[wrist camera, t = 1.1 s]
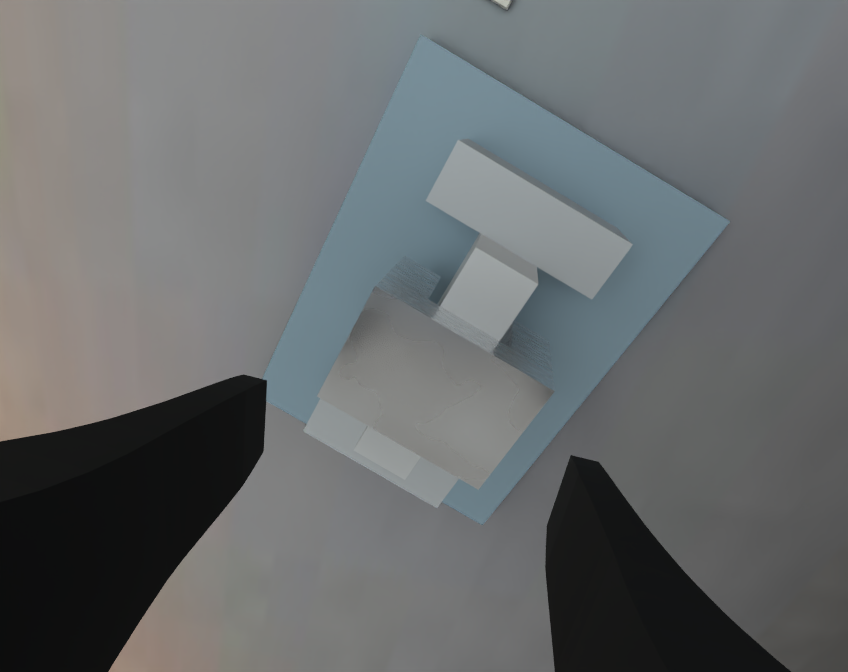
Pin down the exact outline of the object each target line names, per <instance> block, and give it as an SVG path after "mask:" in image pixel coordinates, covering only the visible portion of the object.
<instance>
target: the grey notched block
mask: <svg viewBox="0 0 848 672" xmlns="http://www.w3.org/2000/svg"><path fill="white" fill-rule="evenodd" d="M440 278H441V277H440V276H439V275H437V274H435V273H434V272H432V271H430V270H429V269H427V268H425V267H424V266H422V265H420V264H418V263H417V262H415V261H413V260H412V259H410V258H408V257H407V256H404V257H403V258H402V259H401V260H400V261H399V262H398V263H397V264H396V265H395V266H394V267H393V268H392V269H391V270H390V271H389V272H388V273H387V274H386V275H385V276H384V277H383V278H382V279H381V280H380V281H379V282H378V283H377V284H376V285H375V287H374V289H373V291H372V293H371V295H370V296H369V298H368V300H367V302H366V304H365V306H364V308H363V310H362V312H361V314H360V315H359V317H358V319H357V321H356V323H355V325H354V327H353V329H352V331H351V333H350V334H349V336H348V338H347V340H346V342H345V344H344V346H343V348H342V350H341V351H340V353H339V355H338V357H337V359H336V361H335V363H334V365H333V367H332V369H331V370H330V372H329V374H328V376H327V378H326V380H325V382H324V384H323V386H322V387H321V389H320V391H319V393H318V395H317V397H319V398H320V399H322V400H324V401H326V402H327V403H329V404H331V405H333V406H334V407H336V408H338V409H339V410H341V411H343V412H345V413H346V414H348V415H350V416H352V417H353V418H355V419H357V420H358V421H360V422H362V423H364V424H365V425H367V426H369V427H371V428H372V429H374V430H376V431H378V432H379V433H381V434H383V435H384V436H386V437H388V438H390V439H391V440H393V441H395V442H397V443H398V444H400V445H402V446H403V447H405V448H407V449H409V450H410V451H412V452H414V453H416V454H417V455H419V456H421V457H423V458H424V459H426V460H428V461H429V462H431V463H433V464H435V465H436V466H438V467H440V468H442V469H443V470H445V471H447V472H448V473H450V474H452V475H454V476H455V477H457V478H459V479H461V480H462V481H464V482H466V483H468V484H469V485H471V486H473V487H474V488H476V489H478V490H479V488H480V487H481V486H482V485H483V483H484V482H485V481H486V479H487V478H488V477H489V476H490V474H491V473H492V472H493V470H494V469H495V468H496V467H497V465H498V464H499V463H500V461H501V460H502V459H503V458H504V456H505V455H506V454H507V452H508V451H509V450H510V449H511V447H512V446H513V445H514V443H515V442H516V441H517V440H518V438H519V437H520V436H521V434H522V433H523V432H524V430H525V429H526V428H527V427H528V425H529V424H530V423H531V421H532V420H533V419H534V418H535V416H536V415H537V414H538V412H539V411H540V410H541V409H542V407H543V406H544V405H545V403H546V402H547V401H548V400H549V398H550V397H551V396H552V394H553V393H554V392H555V388H554V379H553V370H552V361H551V352H550V343H549V340H547V339H546V338H544V337H542V336H540V335H539V334H537V333H535V332H534V331H532V330H530V329H529V328H527V327H525V326H524V325H522V324H520V323H518V322H517V321H515V320H514V321H513V322H512V324H511V325H510V327H509V328H508V330H507V331H506V333H505V334H504V336H503V337H502V338H501V340H500V341H498V340H497V339H495V338H493V337H492V336H490V335H488V334H487V333H485V332H483V331H481V330H480V329H478V328H476V327H475V326H473V325H471V324H470V323H468V322H466V321H464V320H463V319H461V318H459V317H458V316H456V315H454V314H453V313H451V312H449V311H447V310H446V309H444V308H442V307H441V306H439V305H437V304H436V303H434V302H432V301H430V300H429V297H430V295H431V294H432V292H433V290H434V289H435V287H436V285H437V283H438V282H439V280H440Z"/></svg>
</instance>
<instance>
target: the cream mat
mask: <svg viewBox="0 0 848 672" xmlns="http://www.w3.org/2000/svg"><path fill="white" fill-rule="evenodd" d="M490 1H492V2H494V3H495V4H497V5H499V6H500V7H502V8H504V9H505V10H508V8H509V6H510V4H511V2H512V0H490Z"/></svg>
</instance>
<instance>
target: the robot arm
mask: <svg viewBox="0 0 848 672" xmlns="http://www.w3.org/2000/svg"><path fill="white" fill-rule="evenodd" d="M266 394H267V380H263V379H259V378H255V377H251V376H247V375H240V376H236V377H233V378H229V379H226V380H223V381H221V382H218V383H215V384H212V385H209V386H207V387H204V388H201V389H198V390H195V391H193V392H190V393H187V394H184V395H181V396H179V397H176V398H173V399H170V400H168V401H165V402H162V403H159V404H155V405H152V406H149V407H146V408H143V409H140V410H136V411H133V412H130V413H127V414H124V415H121V416H117V417H114V418H110V419H107V420H103V421H99V422H95V423H92V424H87V425H83V426H79V427H75V428H70V429H66V430H62V431H57V432H52V433H46V434H41V435H35V436H29V437H24V438H18V439H12V440H7V441H1V442H0V672H108V671H109V669H110V668H111V666H112V664H113V663H114V661H115V660H116V658H117V657H118V655H119V653H120V652H121V650H122V649H123V647H124V645H125V644H126V642H127V641H128V639H129V638H130V636H131V634H132V633H133V631H134V630H135V628H136V626H137V625H138V623H139V622H140V620H141V619H142V617H143V616H144V614H145V613H146V611H147V610H148V608H149V607H150V605H151V604H152V602H153V601H154V599H155V598H156V596H157V595H158V593H159V592H160V590H161V589H162V587H163V586H164V584H165V583H166V581H167V580H168V578H169V577H170V576H171V574H172V573H173V572H174V570H175V569H176V568H177V566H178V565H179V564H180V562H181V561H182V560H183V559H184V557H185V556H186V555H187V554H188V552H189V551H190V550H191V549H192V548H193V546H194V545H195V544H196V543H197V541H198V540H199V539H200V538H201V537H202V535H203V534H204V533H205V532H206V531H207V529H208V528H209V527H210V526H211V524H212V523H213V522H214V521H215V520H216V518H217V517H218V516H219V515H220V513H221V512H222V511H223V510H224V509H225V507H226V506H227V505H228V504H229V502H230V501H231V500H232V499H233V497H234V496H235V495H236V494H237V492H238V491H239V490H240V489H241V487H242V486H243V484H244V483H245V481H246V480H247V478H248V476H249V475H250V473H251V472H252V470H253V468H254V467H255V465H256V463H257V462H258V460H259V458H260V456H261V455H262V453H263V450H264V431H265V412H266ZM545 568H546V581H547V592H548V603H549V613H550V624H551V634H552V645H553V655H554V666H555V672H791V671H790V670H788V669H787V668H786V667H785V666H784V665H782V664H781V663H780V662H779V661H777V660H776V659H775V658H774V657H773V656H772V655H770V654H769V653H768V652H767V651H766V650H765V649H764V648H763V647H761V646H760V645H759V644H758V643H757V642H756V641H755V640H754V639H752V638H751V637H750V636H749V635H748V634H747V633H746V632H744V631H743V630H742V629H741V628H740V627H739V626H738V625H737V624H736V623H735V622H734V621H732V620H731V619H730V618H729V617H728V616H727V615H726V614H725V613H724V612H723V611H722V610H721V609H720V608H719V607H718V606H717V605H716V604H715V603H714V602H713V601H712V600H711V599H710V598H709V597H708V596H707V595H706V594H705V593H704V592H703V591H702V590H701V589H700V588H699V587H698V586H697V585H696V584H695V583H694V582H693V581H692V579H691V578H690V577H689V576H688V575H687V574H686V573H685V572H684V571H683V570H682V569H681V567H680V566H679V565H678V564H677V563H676V562H675V560H674V559H673V558H672V557H671V556H670V555H669V554H668V552H667V551H666V550H665V549H664V548H663V547H662V545H661V544H660V543H659V542H658V540H657V539H656V538H655V537H654V536H653V534H652V533H651V532H650V531H649V529H648V528H647V527H646V525H645V524H644V523H643V522H642V520H641V519H640V518H639V516H638V515H637V514H636V512H635V511H634V510H633V508H632V507H631V506H630V504H629V503H628V502H627V500H626V499H625V497H624V496H623V495H622V493H621V492H620V491H619V489H618V488H617V486H616V485H615V484H614V482H613V481H612V479H611V478H610V477H609V475H608V474H607V472H606V471H605V470H604V468H603V467H602V466H601V464H600V463H599V462H597V461H592V460H588V459H584V458H580V457H576V456H572V455H571V456H570V459H569V462H568V465H567V468H566V471H565V474H564V477H563V480H562V483H561V486H560V489H559V492H558V495H557V498H556V501H555V503H554V506H553V509H552V512H551V515H550V518H549V521H548V524H547V536H546V566H545Z"/></svg>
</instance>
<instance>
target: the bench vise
mask: <svg viewBox="0 0 848 672" xmlns="http://www.w3.org/2000/svg"><path fill="white" fill-rule="evenodd" d="M729 222H730V221H729V220H727V219H726V218H724V217H722V216H721V215H719V214H717V213H716V212H714V211H712V210H711V209H709V208H707V207H706V206H704V205H702V204H701V203H699V202H697V201H696V200H694V199H692V198H691V197H689V196H687V195H686V194H684V193H683V192H681V191H679V190H678V189H676V188H674V187H673V186H671V185H669V184H668V183H666V182H664V181H663V180H661V179H659V178H658V177H656V176H654V175H653V174H651V173H649V172H648V171H646V170H645V169H643V168H641V167H640V166H638V165H636V164H635V163H633V162H631V161H630V160H628V159H626V158H625V157H623V156H621V155H620V154H618V153H616V152H615V151H613V150H611V149H610V148H608V147H606V146H605V145H603V144H602V143H600V142H598V141H597V140H595V139H593V138H592V137H590V136H588V135H587V134H585V133H583V132H582V131H580V130H578V129H577V128H575V127H573V126H572V125H570V124H568V123H567V122H565V121H564V120H562V119H560V118H559V117H557V116H555V115H554V114H552V113H550V112H549V111H547V110H545V109H544V108H542V107H540V106H539V105H537V104H535V103H534V102H532V101H530V100H529V99H527V98H525V97H524V96H522V95H521V94H519V93H517V92H516V91H514V90H512V89H511V88H509V87H507V86H506V85H504V84H502V83H501V82H499V81H497V80H496V79H494V78H492V77H491V76H489V75H487V74H486V73H484V72H483V71H481V70H479V69H478V68H476V67H474V66H473V65H471V64H469V63H468V62H466V61H464V60H463V59H461V58H459V57H458V56H456V55H454V54H453V53H451V52H449V51H448V50H446V49H444V48H443V47H441V46H440V45H438V44H436V43H435V42H433V41H431V40H430V39H428V38H426V37H425V36H423V35H420V37H419V39H418V41H417V44H416V46H415V48H414V50H413V52H412V54H411V57H410V59H409V61H408V63H407V65H406V67H405V70H404V72H403V74H402V76H401V78H400V80H399V83H398V85H397V87H396V89H395V91H394V94H393V96H392V98H391V100H390V102H389V104H388V107H387V109H386V111H385V113H384V115H383V117H382V120H381V122H380V124H379V126H378V128H377V130H376V133H375V135H374V137H373V139H372V141H371V143H370V146H369V148H368V150H367V152H366V154H365V156H364V159H363V161H362V163H361V165H360V167H359V170H358V172H357V174H356V176H355V178H354V180H353V183H352V185H351V187H350V189H349V191H348V193H347V196H346V198H345V200H344V202H343V204H342V206H341V209H340V211H339V213H338V215H337V217H336V219H335V222H334V224H333V226H332V228H331V230H330V232H329V235H328V237H327V239H326V241H325V243H324V245H323V248H322V250H321V252H320V254H319V256H318V259H317V261H316V263H315V265H314V267H313V269H312V272H311V274H310V276H309V278H308V280H307V282H306V285H305V287H304V289H303V291H302V293H301V295H300V298H299V300H298V302H297V304H296V306H295V308H294V311H293V313H292V315H291V317H290V319H289V321H288V324H287V326H286V328H285V330H284V332H283V335H282V337H281V339H280V341H279V343H278V345H277V348H276V350H275V352H274V354H273V356H272V358H271V361H270V363H269V365H268V367H267V369H266V371H265V374H264V376H263V378H262V379H263V380H267V394H266V401H267V402H269V403H271V404H273V405H274V406H276V407H278V408H279V409H281V410H283V411H285V412H286V413H288V414H290V415H292V416H293V417H295V418H297V419H299V420H300V421H302V422H304V423H306V426H305V428H304V430H303V432H305V433H307V434H308V435H310V436H312V437H314V438H315V439H317V440H319V441H321V442H322V443H324V444H326V445H328V446H329V447H331V448H333V449H335V450H336V451H338V452H340V453H341V454H343V455H345V456H347V457H348V458H350V459H352V460H354V461H355V462H357V463H359V464H361V465H362V466H364V467H366V468H368V469H369V470H371V471H373V472H375V473H376V474H378V475H380V476H381V477H383V478H385V479H387V480H388V481H390V482H392V483H394V484H395V485H397V486H399V487H401V488H402V489H404V490H406V491H408V492H409V493H411V494H413V495H415V496H416V497H418V498H420V499H421V500H423V501H425V502H427V503H428V504H430V505H432V506H434V507H435V508H438V506H439V505H440V503H441V502H443V503H445V504H446V505H448V506H450V507H451V508H453V509H455V510H457V511H458V512H460V513H462V514H464V515H465V516H467V517H469V518H471V519H472V520H474V521H476V522H478V523H479V524H481V525H483V524H484V523H485V522H486V520H487V519H488V518H489V517H490V515H491V514H492V513H493V512H494V511H495V509H496V508H497V507H498V506H499V504H500V503H501V502H502V501H503V500H504V498H505V497H506V496H507V495H508V493H509V492H510V491H511V490H512V489H513V487H514V486H515V485H516V484H517V482H518V481H519V480H520V479H521V477H522V476H523V475H524V474H525V473H526V471H527V470H528V469H529V468H530V466H531V465H532V464H533V463H534V462H535V460H536V459H537V458H538V457H539V455H540V454H541V453H542V452H543V451H544V449H545V448H546V447H547V446H548V444H549V443H550V442H551V441H552V439H553V438H554V437H555V436H556V435H557V433H558V432H559V431H560V430H561V428H562V427H563V426H564V425H565V424H566V422H567V421H568V420H569V419H570V417H571V416H572V415H573V414H574V412H575V411H576V410H577V409H578V408H579V406H580V405H581V404H582V403H583V401H584V400H585V399H586V398H587V397H588V395H589V394H590V393H591V392H592V390H593V389H594V388H595V387H596V386H597V384H598V383H599V382H600V381H601V379H602V378H603V377H604V376H605V374H606V373H607V372H608V371H609V370H610V368H611V367H612V366H613V365H614V363H615V362H616V361H617V360H618V359H619V357H620V356H621V355H622V354H623V352H624V351H625V350H626V349H627V348H628V346H629V345H630V344H631V343H632V341H633V340H634V339H635V338H636V336H637V335H638V334H639V333H640V332H641V330H642V329H643V328H644V327H645V325H646V324H647V323H648V322H649V321H650V319H651V318H652V317H653V316H654V314H655V313H656V312H657V311H658V309H659V308H660V307H661V306H662V305H663V303H664V302H665V301H666V300H667V298H668V297H669V296H670V295H671V294H672V292H673V291H674V290H675V289H676V287H677V286H678V285H679V284H680V283H681V281H682V280H683V279H684V278H685V276H686V275H687V274H688V273H689V271H690V270H691V269H692V268H693V267H694V265H695V264H696V263H697V262H698V260H699V259H700V258H701V257H702V256H703V254H704V253H705V252H706V251H707V249H708V248H709V247H710V246H711V245H712V243H713V242H714V241H715V240H716V238H717V237H718V236H719V235H720V233H721V232H722V231H723V230H724V229H725V227H726V226H727V225H728V224H729ZM404 256H407V257H408V258H410V259H412V260H413V261H415V262H417V263H418V264H420V265H422V266H424V267H425V268H427V269H429V270H430V271H432V272H434V273H435V274H437V275H439V276H440V277H441V278H440V280H439V282H438V283H437V285H436V287H435V289H434V290H433V292H432V294H431V295H430V297H429V300H430V301H432V302H434V303H436V304H437V305H439V306H441V307H442V308H444V309H446V310H447V311H449V312H451V313H453V314H454V315H456V316H458V317H459V318H461V319H463V320H464V321H466V322H468V323H470V324H471V325H473V326H475V327H476V328H478V329H480V330H481V331H483V332H485V333H487V334H488V335H490V336H492V337H493V338H495V339H497V340H498V341H500V340H501V338H502V337H503V336H504V334H505V333H506V331H507V330H508V328H509V327H510V325H511V324H512V322H513V321H514V320H515V321H517V322H518V323H520V324H522V325H524V326H525V327H527V328H529V329H530V330H532V331H534V332H535V333H537V334H539V335H540V336H542V337H544V338H546V339H547V340H549V343H550V352H551V361H552V370H553V379H554V388H555V392H554V393H553V394H552V396H551V397H550V398H549V400H548V401H547V402H546V403H545V405H544V406H543V407H542V409H541V410H540V411H539V412H538V414H537V415H536V416H535V418H534V419H533V420H532V421H531V423H530V424H529V425H528V427H527V428H526V429H525V430H524V432H523V433H522V434H521V436H520V437H519V438H518V440H517V441H516V442H515V443H514V445H513V446H512V447H511V449H510V450H509V451H508V452H507V454H506V455H505V456H504V458H503V459H502V460H501V461H500V463H499V464H498V465H497V467H496V468H495V469H494V470H493V472H492V473H491V474H490V476H489V477H488V478H487V479H486V481H485V482H484V483H483V485H482V486H481V487H480V488H479V490H478V489H476V488H474V487H473V486H471V485H469V484H468V483H466V482H464V481H462V480H461V479H459V478H457V477H455V476H454V475H452V474H450V473H448V472H447V471H445V470H443V469H442V468H440V467H438V466H436V465H435V464H433V463H431V462H429V461H428V460H426V459H424V458H423V457H421V456H419V455H417V454H416V453H414V452H412V451H410V450H409V449H407V448H405V447H403V446H402V445H400V444H398V443H397V442H395V441H393V440H391V439H390V438H388V437H386V436H384V435H383V434H381V433H379V432H378V431H376V430H374V429H372V428H371V427H369V426H367V425H365V424H364V423H362V422H360V421H358V420H357V419H355V418H353V417H352V416H350V415H348V414H346V413H345V412H343V411H341V410H339V409H338V408H336V407H334V406H333V405H331V404H329V403H327V402H326V401H324V400H322V399H320V398H319V397H317V395H318V393H319V391H320V389H321V387H322V386H323V384H324V382H325V380H326V378H327V376H328V374H329V372H330V370H331V369H332V367H333V365H334V363H335V361H336V359H337V357H338V355H339V353H340V351H341V350H342V348H343V346H344V344H345V342H346V340H347V338H348V336H349V334H350V333H351V331H352V329H353V327H354V325H355V323H356V321H357V319H358V317H359V315H360V314H361V312H362V310H363V308H364V306H365V304H366V302H367V300H368V298H369V296H370V295H371V293H372V291H373V289H374V287H375V285H376V284H377V283H378V282H379V281H380V280H381V279H382V278H383V277H384V276H385V275H386V274H387V273H388V272H389V271H390V270H391V269H392V268H393V267H394V266H395V265H396V264H397V263H398V262H399V261H400V260H401V259H402V258H403V257H404Z"/></svg>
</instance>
